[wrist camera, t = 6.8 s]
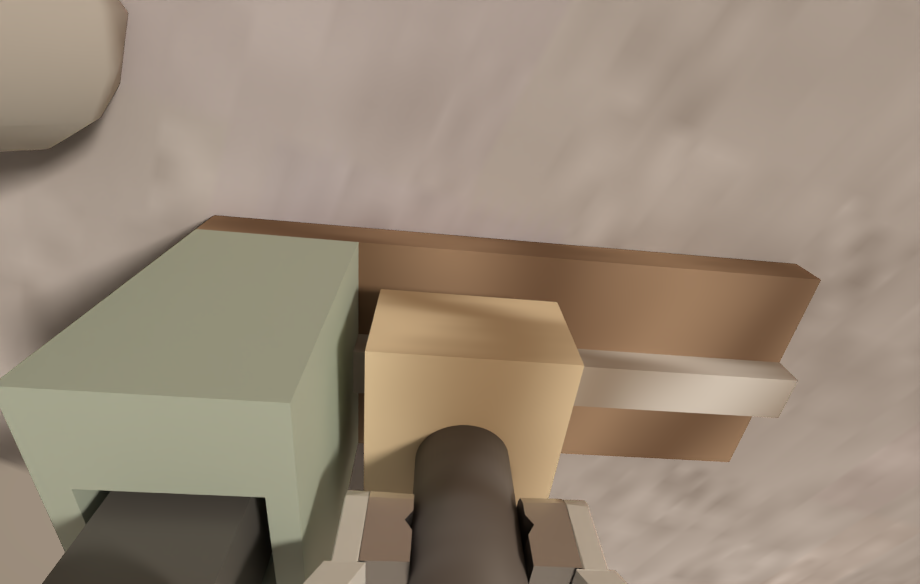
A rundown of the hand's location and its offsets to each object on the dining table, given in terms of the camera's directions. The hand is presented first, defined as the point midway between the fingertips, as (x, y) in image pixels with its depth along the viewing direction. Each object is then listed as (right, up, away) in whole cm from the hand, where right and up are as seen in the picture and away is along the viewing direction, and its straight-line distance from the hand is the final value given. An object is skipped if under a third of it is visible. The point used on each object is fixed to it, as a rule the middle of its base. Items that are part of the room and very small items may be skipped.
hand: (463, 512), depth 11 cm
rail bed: (+1, +3, +6) cm, 7 cm away
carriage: (0, +2, +4) cm, 5 cm away
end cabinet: (-6, +3, +5) cm, 8 cm away
